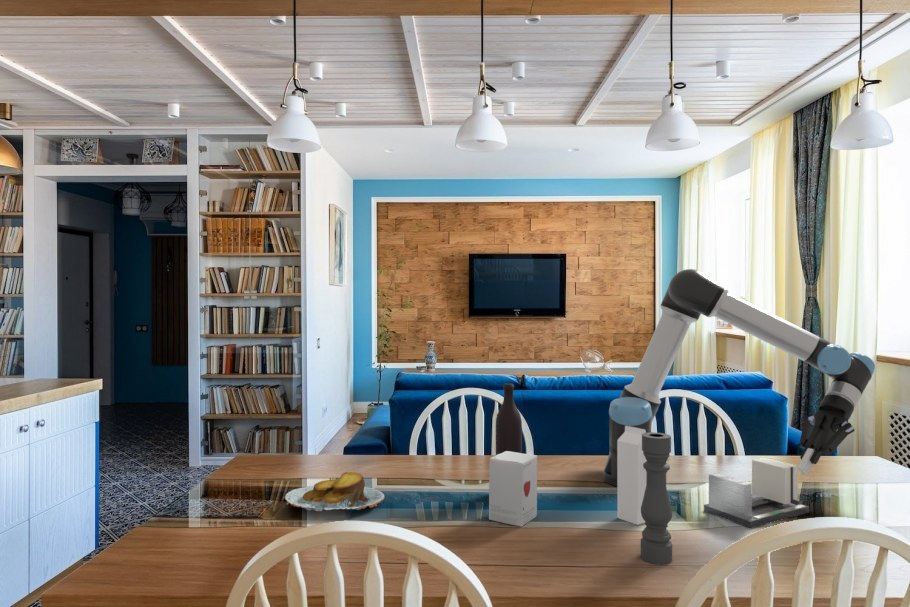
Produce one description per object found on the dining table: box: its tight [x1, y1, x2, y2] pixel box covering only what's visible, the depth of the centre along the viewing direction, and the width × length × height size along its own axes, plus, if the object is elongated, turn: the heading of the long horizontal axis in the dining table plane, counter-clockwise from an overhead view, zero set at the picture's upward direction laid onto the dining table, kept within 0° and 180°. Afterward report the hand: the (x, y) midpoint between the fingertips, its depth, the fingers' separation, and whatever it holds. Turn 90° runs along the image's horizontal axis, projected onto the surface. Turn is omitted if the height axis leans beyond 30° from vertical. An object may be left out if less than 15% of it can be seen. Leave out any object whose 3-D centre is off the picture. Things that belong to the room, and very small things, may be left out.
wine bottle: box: [495, 383, 523, 456], centre depth 165 cm, size 7×7×30 cm
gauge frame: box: [703, 472, 810, 529], centre depth 152 cm, size 22×13×10 cm, turn 118°
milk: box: [616, 426, 647, 526], centre depth 147 cm, size 6×6×22 cm
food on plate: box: [284, 471, 386, 512], centre depth 158 cm, size 25×25×7 cm
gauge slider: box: [751, 457, 800, 505], centre depth 154 cm, size 5×11×9 cm, turn 28°
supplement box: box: [488, 451, 538, 528], centre depth 147 cm, size 9×9×15 cm
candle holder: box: [640, 431, 673, 566], centre depth 124 cm, size 6×6×25 cm
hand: (802, 471), depth 159 cm, fingers closed
